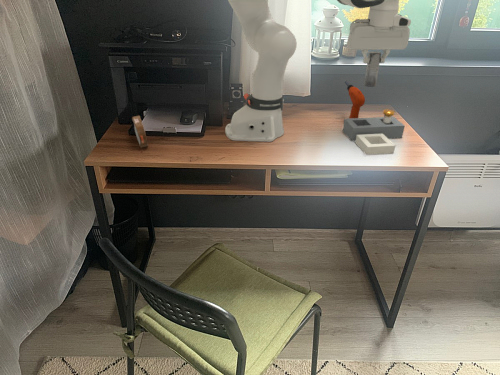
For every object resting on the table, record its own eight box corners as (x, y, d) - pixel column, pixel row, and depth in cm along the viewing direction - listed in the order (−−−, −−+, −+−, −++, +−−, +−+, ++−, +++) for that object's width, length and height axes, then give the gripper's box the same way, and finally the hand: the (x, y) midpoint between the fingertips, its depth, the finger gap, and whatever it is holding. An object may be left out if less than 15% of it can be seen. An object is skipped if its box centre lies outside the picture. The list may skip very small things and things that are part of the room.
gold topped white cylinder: (381, 135, 143) (386, 113, 139) (376, 131, 147) (381, 109, 142) (391, 135, 144) (396, 112, 139) (386, 131, 147) (391, 109, 142)
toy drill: (345, 108, 164) (352, 74, 155) (361, 130, 150) (370, 95, 140) (334, 108, 164) (341, 75, 154) (349, 131, 149) (357, 95, 140)
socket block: (351, 140, 140) (353, 128, 137) (342, 130, 147) (344, 118, 144) (401, 138, 142) (404, 125, 140) (390, 128, 150) (393, 116, 147)
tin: (149, 150, 130) (146, 127, 126) (140, 151, 129) (136, 128, 125) (142, 133, 142) (139, 111, 137) (133, 134, 141) (130, 112, 136)
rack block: (366, 154, 130) (367, 147, 129) (355, 142, 138) (356, 134, 137) (393, 153, 132) (395, 145, 130) (380, 141, 140) (382, 133, 138)
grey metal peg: (367, 87, 132) (372, 54, 126) (362, 83, 135) (366, 51, 129) (377, 86, 132) (383, 53, 126) (372, 83, 135) (377, 51, 130)
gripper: (355, 20, 118) (347, 65, 125) (416, 20, 121) (405, 64, 128) (347, 17, 123) (341, 61, 130) (406, 17, 126) (396, 60, 133)
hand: (373, 62), depth 129 cm, fingers closed on grey metal peg, 4 cm apart
